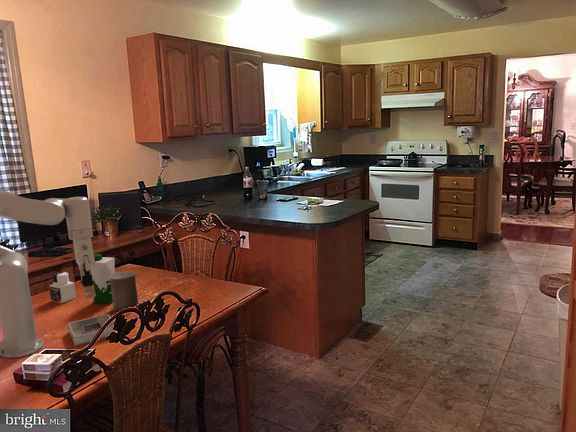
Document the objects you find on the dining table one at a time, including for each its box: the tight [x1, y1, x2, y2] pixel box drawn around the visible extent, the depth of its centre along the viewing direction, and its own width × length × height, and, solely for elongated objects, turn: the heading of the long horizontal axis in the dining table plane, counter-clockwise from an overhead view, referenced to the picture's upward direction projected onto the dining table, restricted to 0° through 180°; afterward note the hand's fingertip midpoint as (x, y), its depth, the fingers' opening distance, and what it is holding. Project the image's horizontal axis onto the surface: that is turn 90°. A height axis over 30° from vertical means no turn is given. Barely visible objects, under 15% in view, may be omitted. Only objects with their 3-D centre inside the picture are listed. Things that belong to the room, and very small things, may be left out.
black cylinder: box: [78, 265, 96, 299], centre depth 160 cm, size 3×3×12 cm
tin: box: [67, 313, 115, 348], centre depth 164 cm, size 14×14×4 cm
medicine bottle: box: [48, 271, 77, 304], centre depth 198 cm, size 7×7×12 cm
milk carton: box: [90, 253, 116, 305], centre depth 194 cm, size 9×9×20 cm
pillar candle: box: [110, 271, 139, 312], centre depth 187 cm, size 10×10×15 cm
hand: (87, 284), depth 160 cm, fingers closed on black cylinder, 3 cm apart
